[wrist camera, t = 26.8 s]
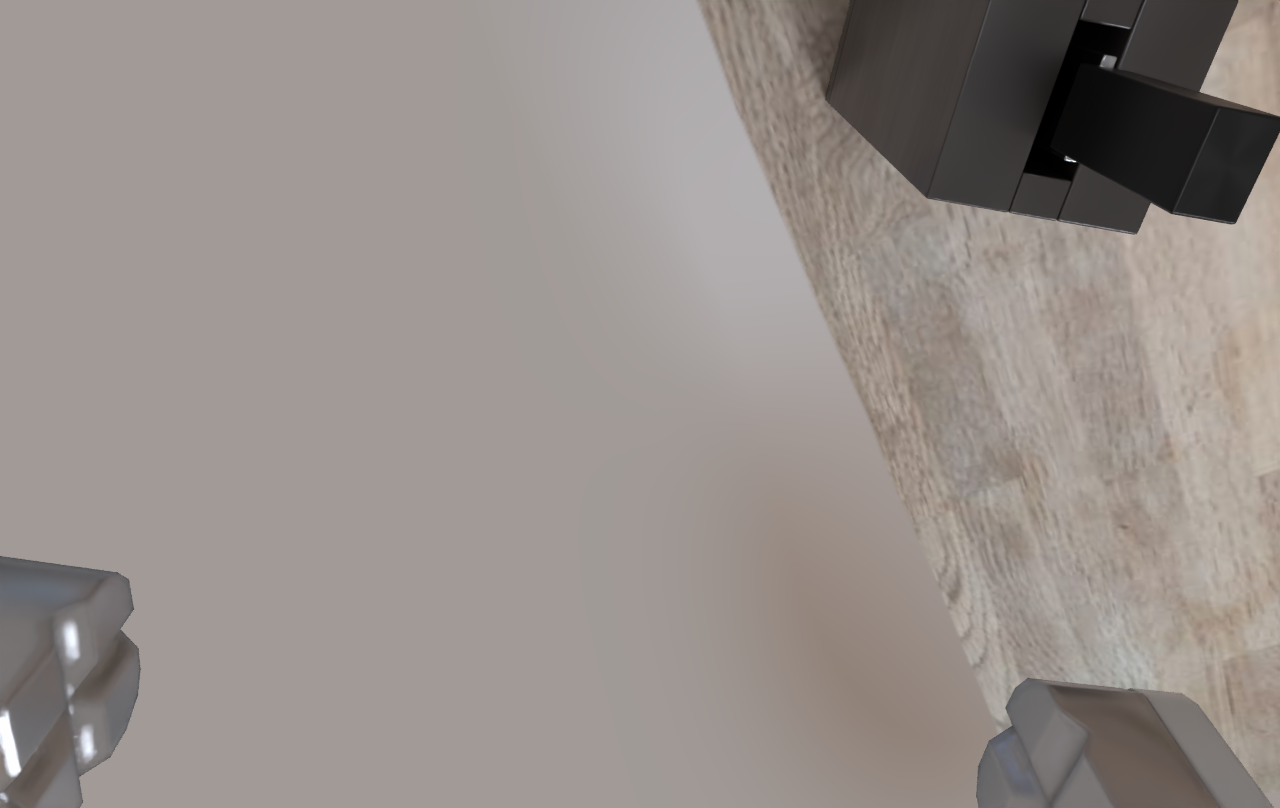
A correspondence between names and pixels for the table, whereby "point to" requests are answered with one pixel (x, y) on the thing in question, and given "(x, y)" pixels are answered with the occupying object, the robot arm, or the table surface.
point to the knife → (1156, 137)
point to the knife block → (1005, 92)
